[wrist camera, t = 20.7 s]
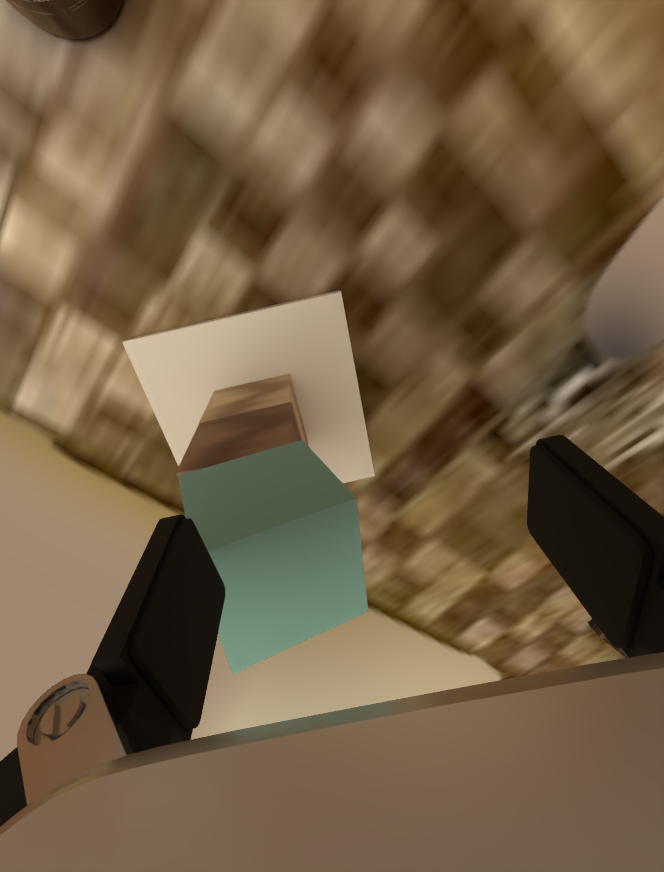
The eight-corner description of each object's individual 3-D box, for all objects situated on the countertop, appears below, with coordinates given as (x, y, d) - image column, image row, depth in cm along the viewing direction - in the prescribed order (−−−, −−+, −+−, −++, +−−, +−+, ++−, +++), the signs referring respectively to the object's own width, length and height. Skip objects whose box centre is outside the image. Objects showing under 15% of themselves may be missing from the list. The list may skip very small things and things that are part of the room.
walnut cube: (291, 401, 25) (292, 446, 20) (312, 478, 28) (318, 536, 22) (199, 423, 25) (175, 473, 20) (229, 498, 28) (216, 560, 22)
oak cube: (290, 373, 30) (290, 402, 25) (307, 440, 33) (311, 479, 28) (214, 390, 30) (198, 423, 25) (238, 456, 33) (228, 498, 28)
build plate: (339, 290, 29) (341, 291, 28) (372, 470, 36) (374, 476, 35) (127, 338, 29) (122, 341, 28) (203, 508, 36) (201, 515, 35)
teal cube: (302, 439, 20) (356, 498, 15) (317, 534, 22) (368, 611, 17) (178, 475, 18) (191, 556, 13) (211, 574, 20) (232, 674, 15)
